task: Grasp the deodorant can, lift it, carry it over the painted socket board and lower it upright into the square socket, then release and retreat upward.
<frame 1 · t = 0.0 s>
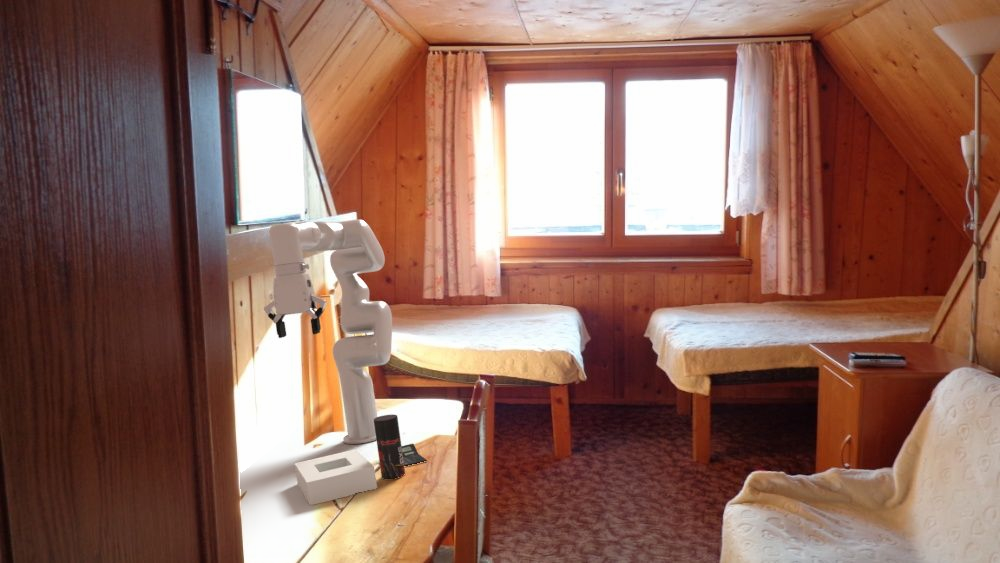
hand: (299, 335, 204), 37 cm above the table, tool pointing down, fingers open, 9 cm apart
deodorant: (393, 476, 196), on the table
calculator: (404, 463, 208), on the table
socket board: (336, 486, 193), on the table
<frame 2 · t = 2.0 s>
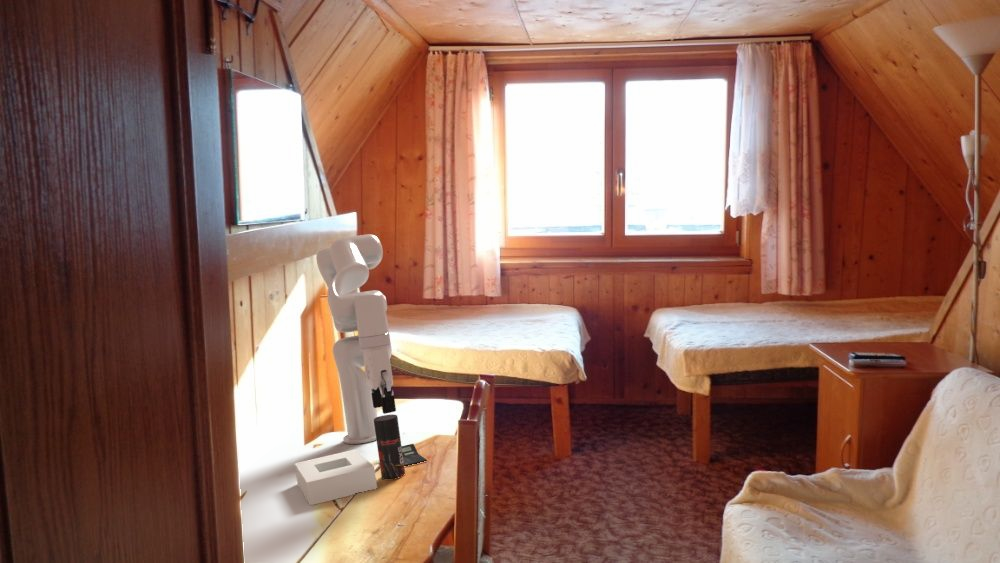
hand: (384, 409, 195), 17 cm above the table, tool pointing down, fingers open, 9 cm apart
nothing on the table moved.
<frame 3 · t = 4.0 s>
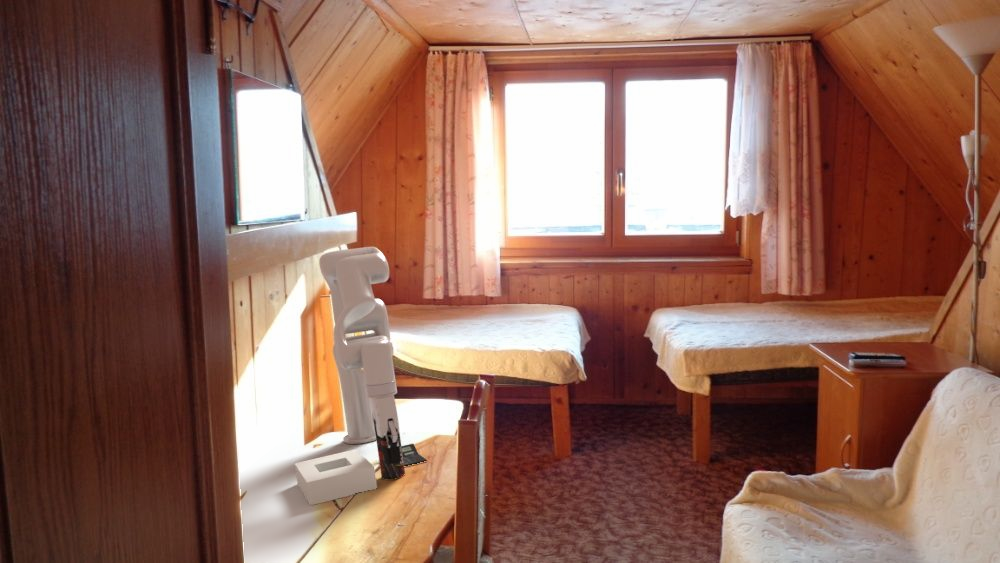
hand: (391, 458, 196), 4 cm above the table, tool pointing down, fingers closed on deodorant, 5 cm apart
deodorant: (393, 476, 196), on the table, touching gripper
everything else where it was.
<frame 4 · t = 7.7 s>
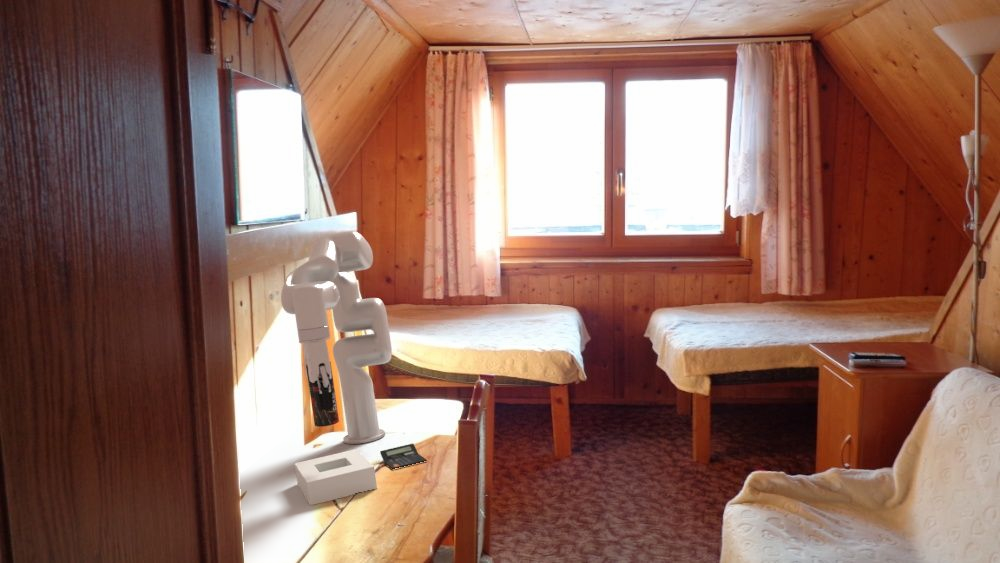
hand: (324, 405, 192), 20 cm above the table, tool pointing down, fingers closed on deodorant, 5 cm apart
deodorant: (327, 424, 192), point 16 cm above the table, touching gripper
everything else where it was.
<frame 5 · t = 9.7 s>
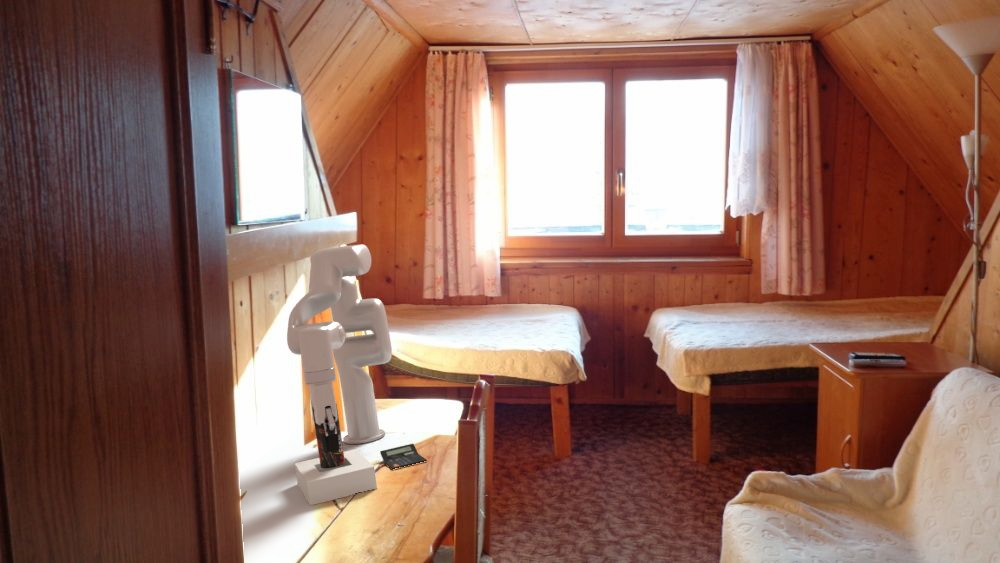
hand: (330, 447, 193), 10 cm above the table, tool pointing down, fingers closed on deodorant, 5 cm apart
deodorant: (333, 465, 193), point 5 cm above the table, touching gripper
everything else where it was.
when the fingers open (7 cm above the table, at t = 11.5 s): deodorant stays where it is, resting on socket board.
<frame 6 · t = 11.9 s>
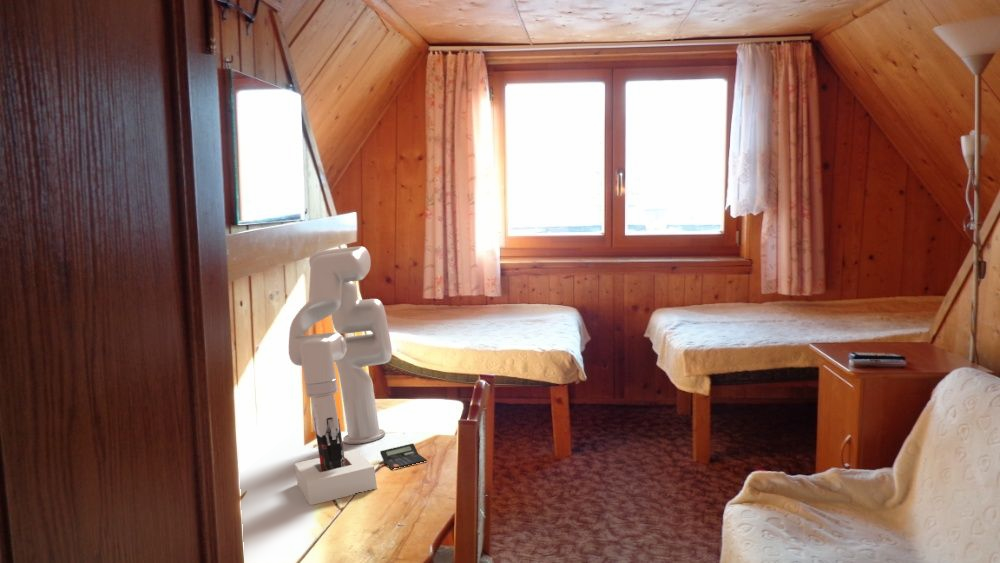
hand: (331, 455, 193), 8 cm above the table, tool pointing down, fingers open, 9 cm apart
deodorant: (335, 480, 194), point 1 cm above the table, touching socket board
everything else where it was.
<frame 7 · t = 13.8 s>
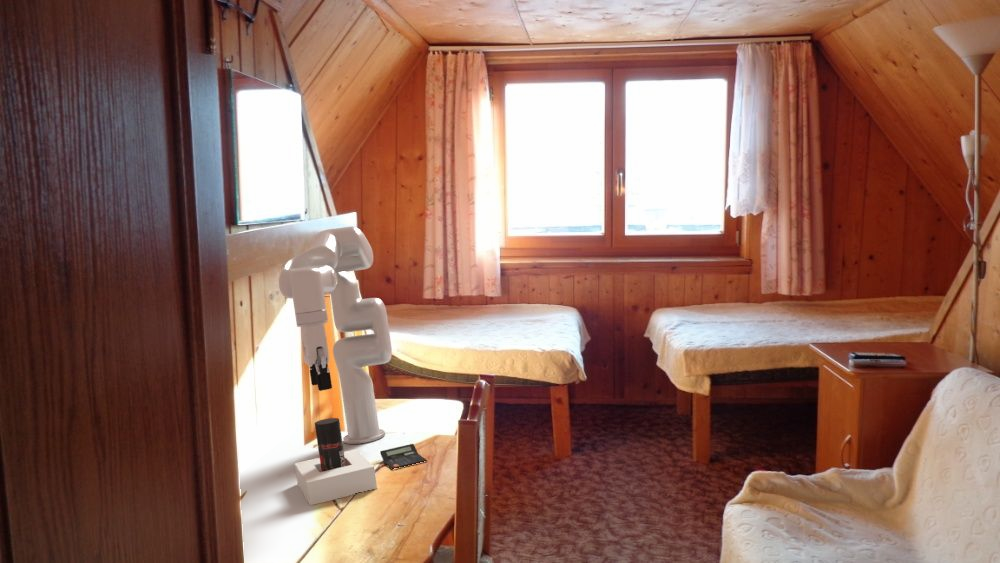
hand: (321, 386, 192), 25 cm above the table, tool pointing down, fingers open, 9 cm apart
nothing on the table moved.
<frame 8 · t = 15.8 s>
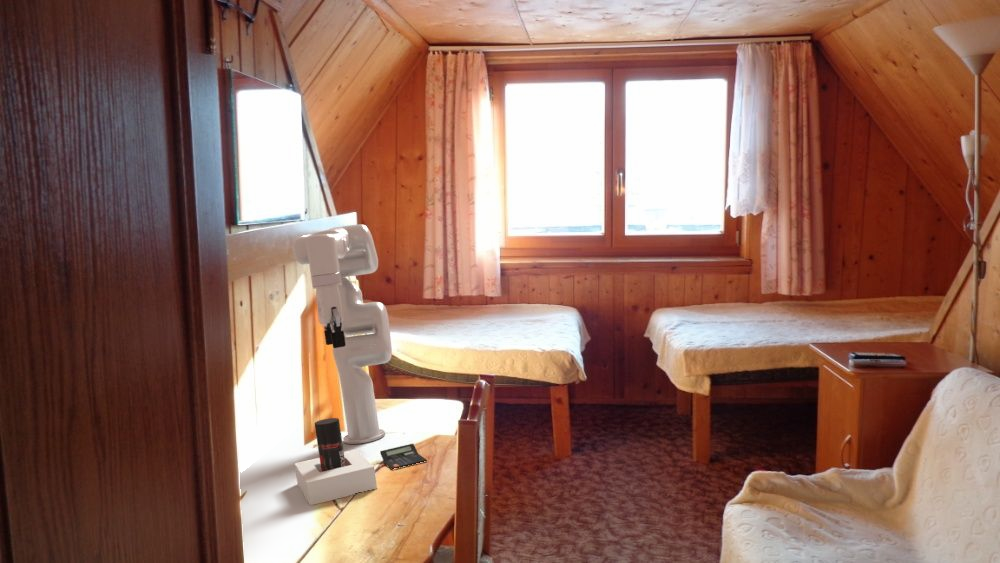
hand: (335, 345, 205), 33 cm above the table, tool pointing down, fingers open, 9 cm apart
nothing on the table moved.
at the end: deodorant 0.2 cm off-centre on the socket board, point 1.3 cm above the socket board's base; deodorant tilted 0°; the gripper is holding nothing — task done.
